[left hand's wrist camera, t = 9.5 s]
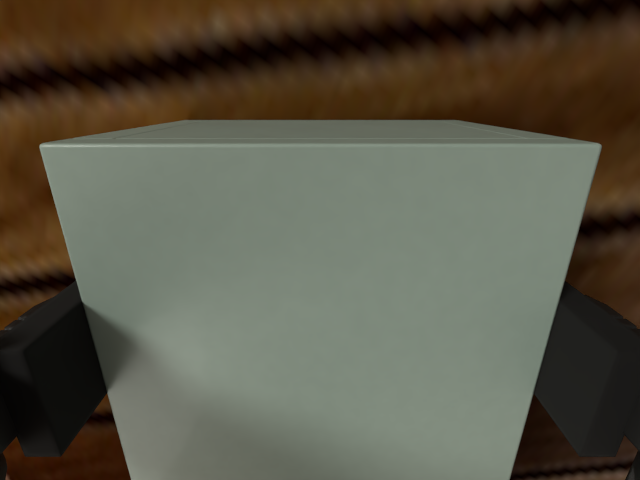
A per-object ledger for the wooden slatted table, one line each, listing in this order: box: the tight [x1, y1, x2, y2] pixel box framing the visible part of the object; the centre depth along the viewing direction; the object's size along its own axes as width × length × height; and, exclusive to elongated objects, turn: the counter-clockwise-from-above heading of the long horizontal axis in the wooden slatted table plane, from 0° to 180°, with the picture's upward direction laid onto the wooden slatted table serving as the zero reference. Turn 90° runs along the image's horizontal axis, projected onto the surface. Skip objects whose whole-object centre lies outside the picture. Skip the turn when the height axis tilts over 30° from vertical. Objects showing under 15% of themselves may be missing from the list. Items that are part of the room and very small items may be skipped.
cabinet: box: [40, 120, 602, 480], centre depth 14 cm, size 16×11×8 cm
